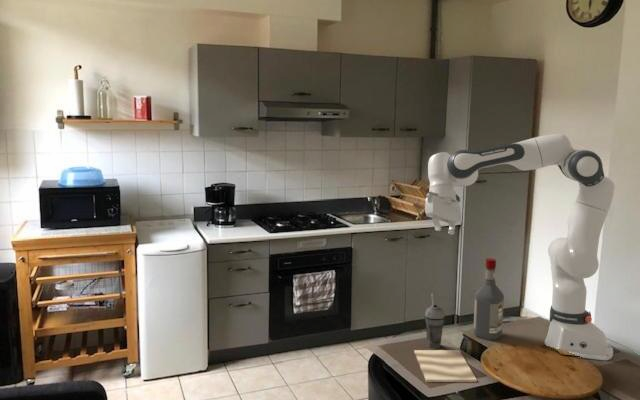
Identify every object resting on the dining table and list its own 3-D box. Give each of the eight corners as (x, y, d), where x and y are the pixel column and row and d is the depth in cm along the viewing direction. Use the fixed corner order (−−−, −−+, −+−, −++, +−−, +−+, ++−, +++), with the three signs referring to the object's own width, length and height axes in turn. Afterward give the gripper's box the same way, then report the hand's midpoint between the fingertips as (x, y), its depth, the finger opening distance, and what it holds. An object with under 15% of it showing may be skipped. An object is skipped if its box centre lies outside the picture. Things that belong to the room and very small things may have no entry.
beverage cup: (444, 351, 197) (445, 297, 194) (423, 349, 198) (425, 296, 195) (443, 343, 204) (445, 291, 201) (423, 341, 205) (425, 290, 202)
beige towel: (414, 352, 196) (414, 350, 196) (459, 352, 196) (459, 349, 196) (426, 382, 174) (426, 379, 174) (476, 381, 174) (476, 379, 174)
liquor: (470, 335, 210) (474, 259, 206) (481, 328, 217) (485, 255, 212) (493, 342, 204) (497, 264, 200) (504, 334, 211) (507, 259, 206)
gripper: (435, 188, 192) (438, 226, 188) (462, 199, 207) (466, 235, 203) (419, 191, 196) (422, 229, 192) (447, 202, 211) (450, 237, 207)
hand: (444, 232), depth 198 cm, fingers open, 8 cm apart
